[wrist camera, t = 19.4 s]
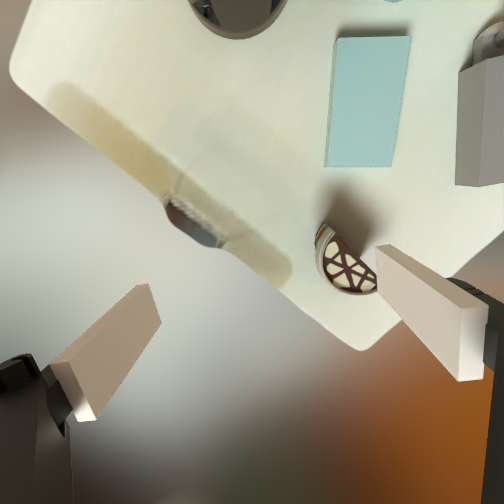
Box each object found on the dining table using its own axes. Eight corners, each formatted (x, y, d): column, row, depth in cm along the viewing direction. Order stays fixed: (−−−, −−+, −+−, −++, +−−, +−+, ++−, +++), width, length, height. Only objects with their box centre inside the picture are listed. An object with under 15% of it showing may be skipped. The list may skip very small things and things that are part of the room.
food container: (292, 241, 47) (299, 259, 37) (318, 216, 45) (332, 229, 36) (338, 285, 49) (356, 314, 39) (364, 263, 47) (389, 287, 38)
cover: (332, 47, 38) (338, 37, 35) (400, 45, 38) (411, 35, 35) (323, 167, 43) (327, 167, 40) (382, 167, 43) (391, 167, 40)
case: (460, 34, 37) (489, 14, 32) (522, 19, 36) (562, -4, 31) (454, 184, 43) (478, 187, 38) (508, 175, 42) (539, 176, 37)
